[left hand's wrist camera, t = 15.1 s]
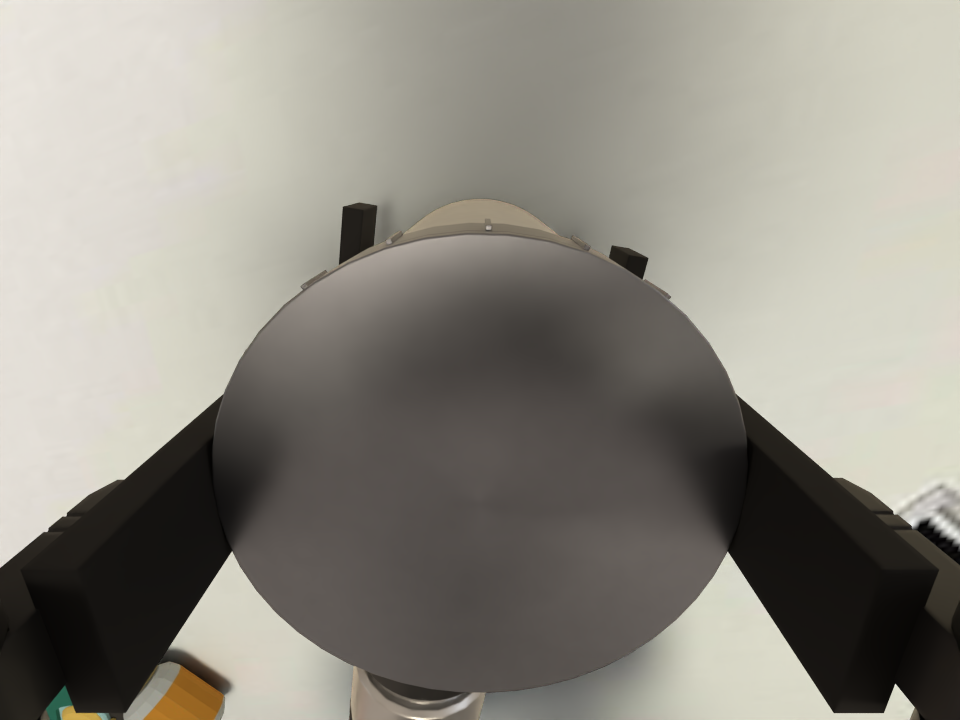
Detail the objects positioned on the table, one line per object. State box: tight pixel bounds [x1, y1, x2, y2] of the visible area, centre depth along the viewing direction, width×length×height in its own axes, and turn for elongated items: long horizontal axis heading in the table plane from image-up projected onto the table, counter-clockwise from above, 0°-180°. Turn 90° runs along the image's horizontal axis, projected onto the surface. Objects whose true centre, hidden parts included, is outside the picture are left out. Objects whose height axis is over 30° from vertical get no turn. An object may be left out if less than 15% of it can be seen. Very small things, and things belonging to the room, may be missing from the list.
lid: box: [212, 219, 748, 693], centre depth 11 cm, size 11×11×2 cm
